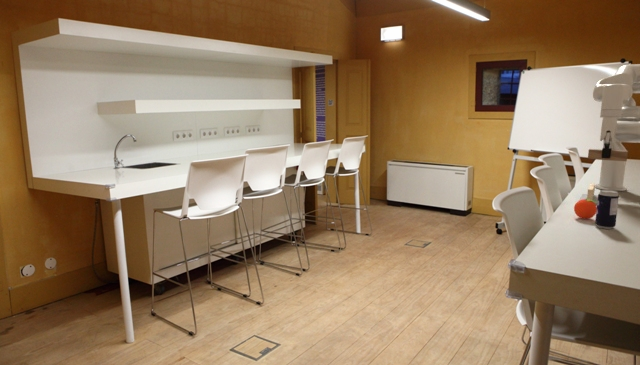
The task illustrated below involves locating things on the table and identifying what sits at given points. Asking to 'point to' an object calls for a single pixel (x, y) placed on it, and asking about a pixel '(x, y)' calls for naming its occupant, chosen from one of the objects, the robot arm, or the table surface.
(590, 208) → the tomato
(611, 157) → the walnut rod
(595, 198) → the ridge stand
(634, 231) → the table surface
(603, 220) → the beverage can
